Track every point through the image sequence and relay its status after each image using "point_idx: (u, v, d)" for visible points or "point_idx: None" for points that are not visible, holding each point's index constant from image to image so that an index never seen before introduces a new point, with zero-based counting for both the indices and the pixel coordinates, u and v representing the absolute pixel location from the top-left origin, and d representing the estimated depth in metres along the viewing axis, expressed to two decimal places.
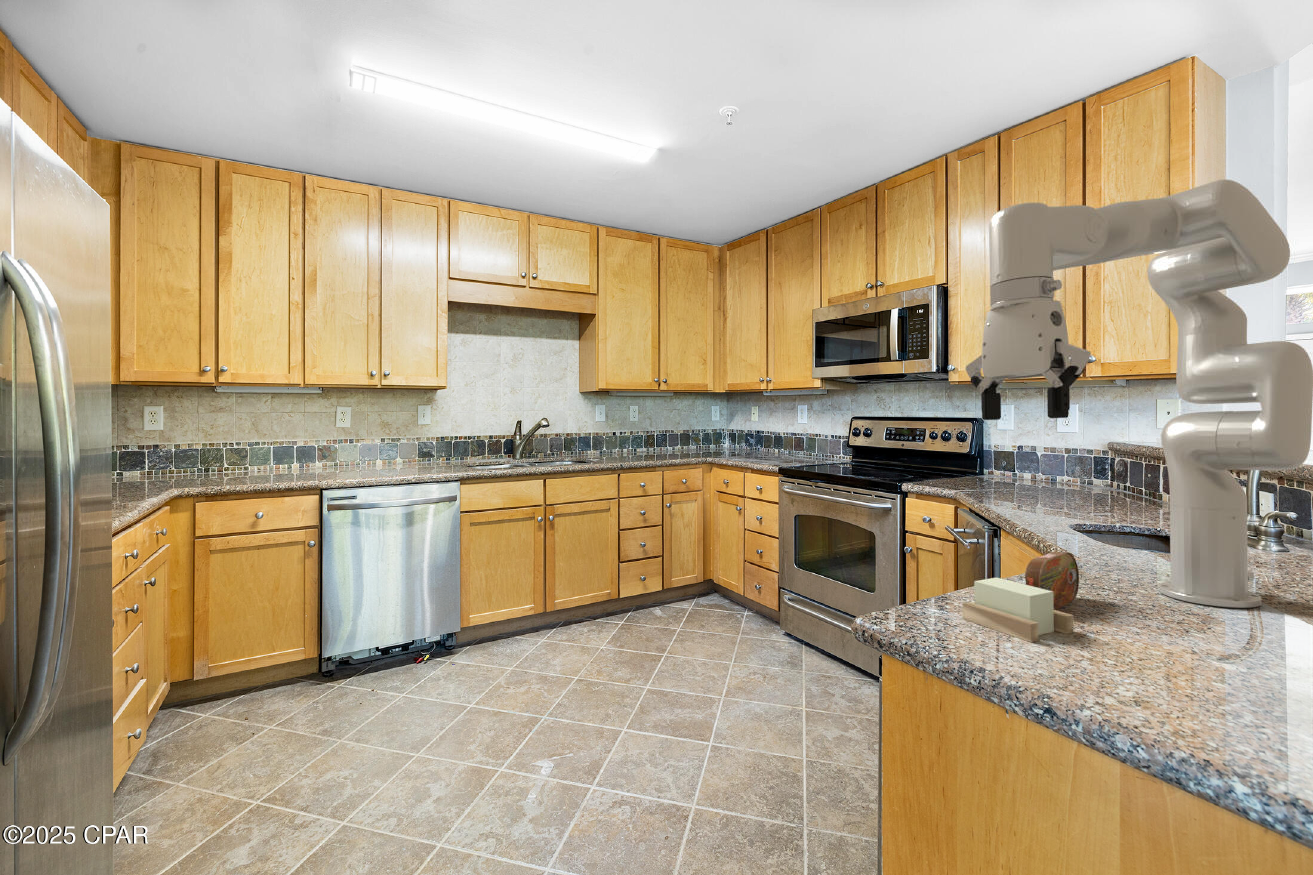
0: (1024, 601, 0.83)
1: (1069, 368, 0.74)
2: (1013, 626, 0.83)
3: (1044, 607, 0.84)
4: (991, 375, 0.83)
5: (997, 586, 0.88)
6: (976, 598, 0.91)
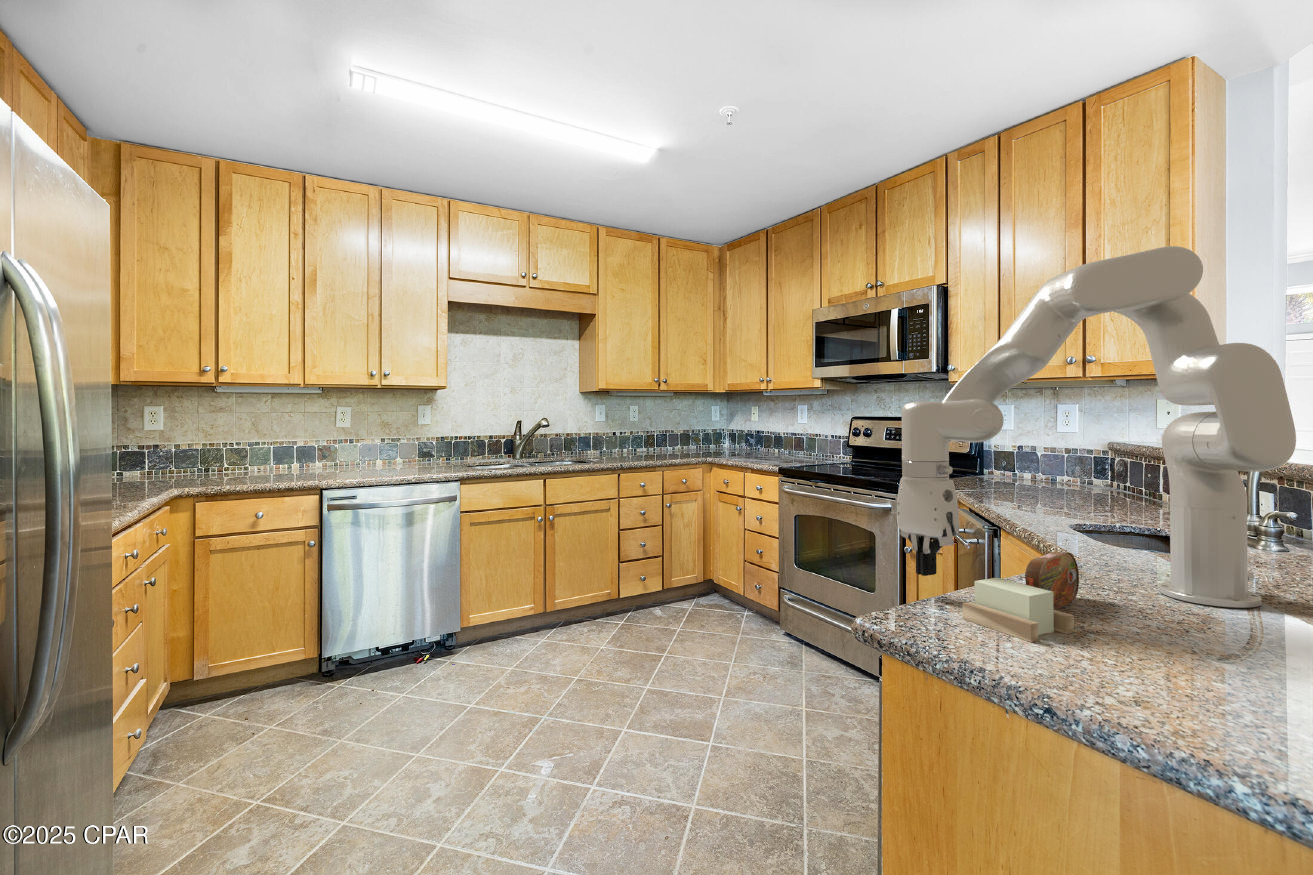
0: (1023, 601, 0.83)
1: (934, 541, 1.00)
2: (1013, 626, 0.83)
3: (1044, 608, 0.84)
4: (903, 529, 1.05)
5: (997, 586, 0.88)
6: (976, 598, 0.91)
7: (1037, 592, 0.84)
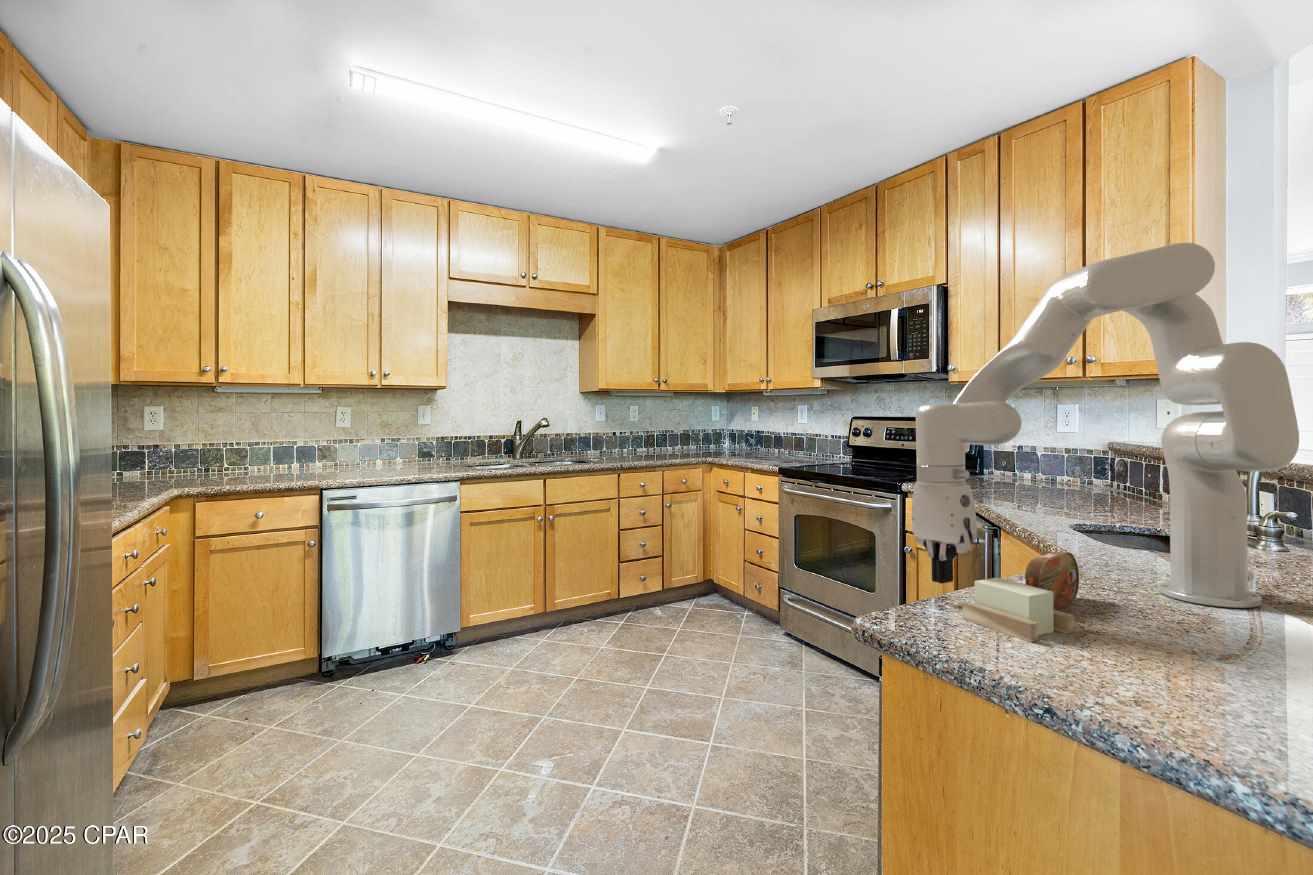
0: (1023, 601, 0.83)
1: (950, 548, 0.97)
2: (1013, 626, 0.83)
3: (1044, 608, 0.84)
4: (918, 535, 1.02)
5: (997, 586, 0.88)
6: (976, 598, 0.91)
7: (1037, 592, 0.84)
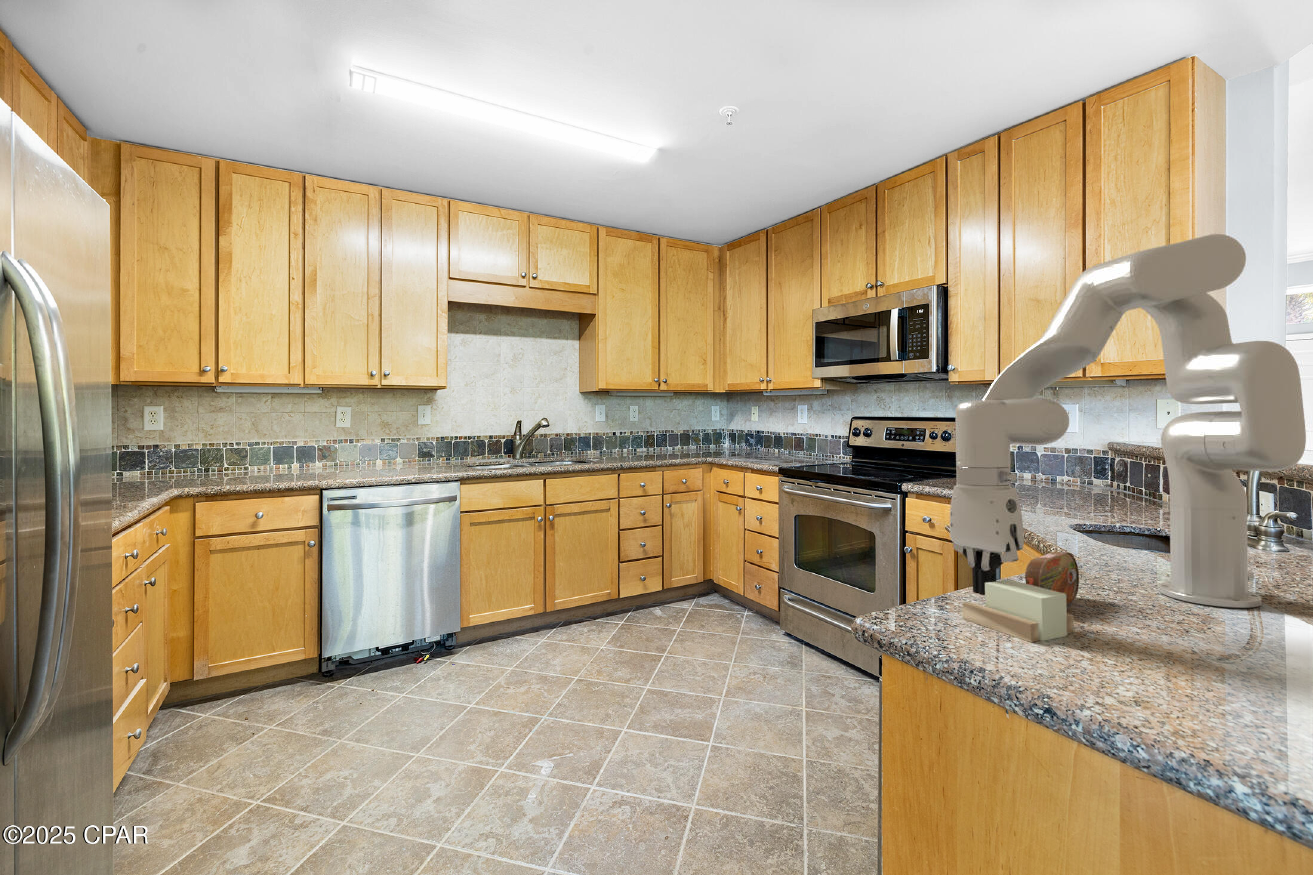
0: (1035, 604, 0.82)
1: (994, 557, 0.89)
2: (1013, 626, 0.83)
3: (1057, 610, 0.82)
4: (957, 542, 0.94)
5: (1008, 588, 0.86)
6: (987, 600, 0.89)
7: (1050, 594, 0.82)
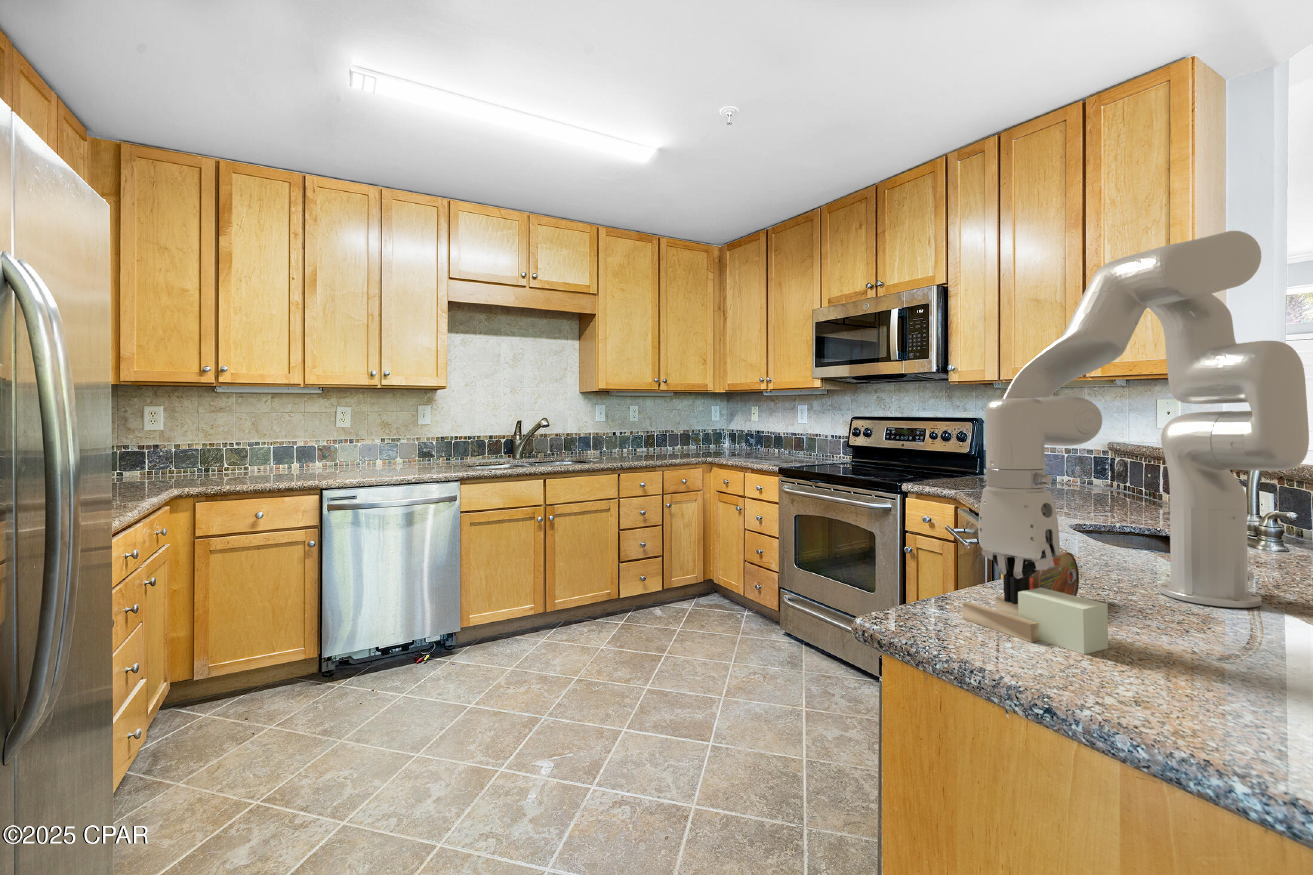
0: (1076, 615, 0.77)
1: (1028, 564, 0.84)
2: (1013, 626, 0.83)
3: (1098, 621, 0.77)
4: (987, 548, 0.89)
5: (1044, 597, 0.81)
6: (1020, 610, 0.84)
7: (1090, 604, 0.77)
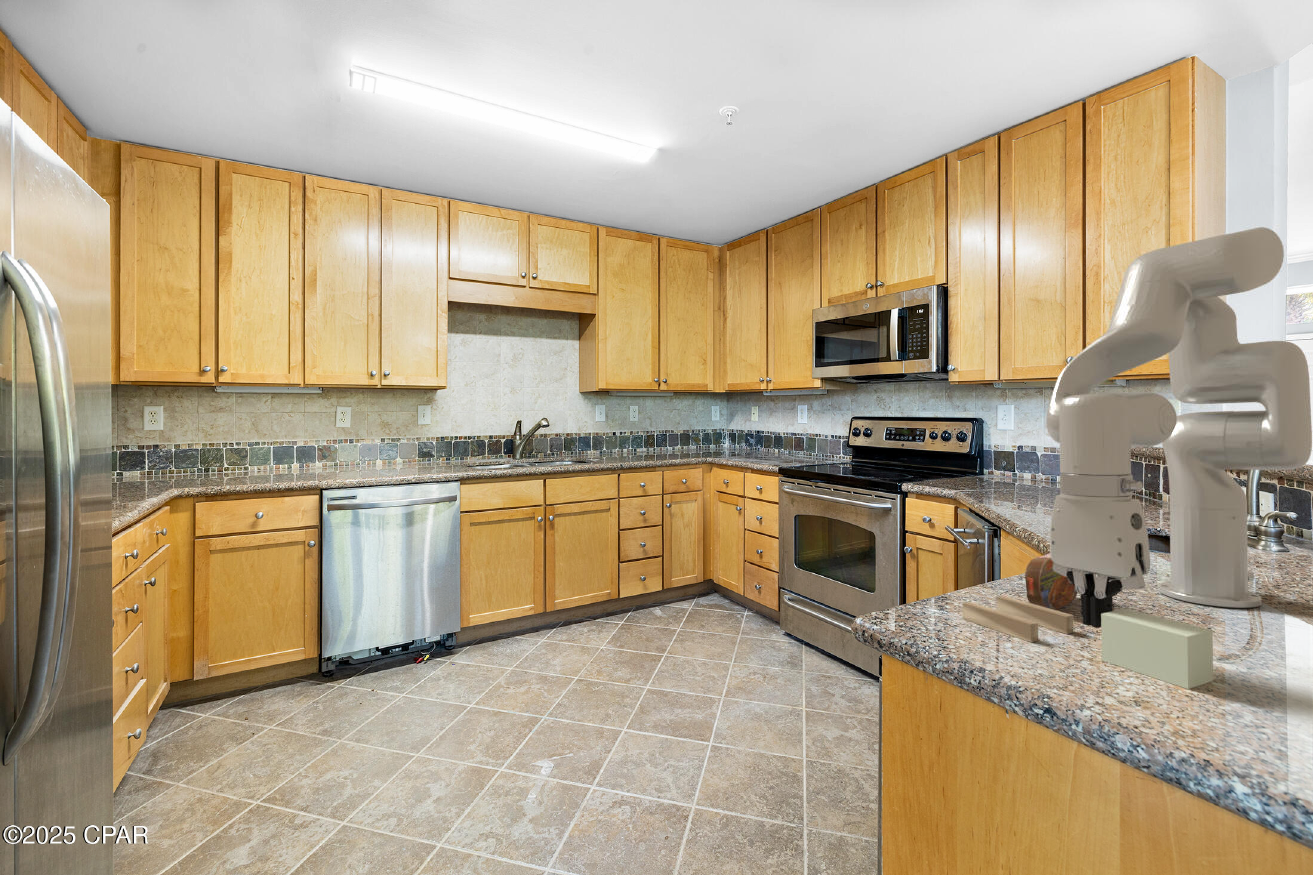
0: (1178, 643, 0.66)
1: (1113, 583, 0.74)
2: (1013, 626, 0.83)
3: (1203, 650, 0.67)
4: (1061, 564, 0.79)
5: (1135, 621, 0.71)
6: (1104, 635, 0.73)
7: (1193, 631, 0.67)
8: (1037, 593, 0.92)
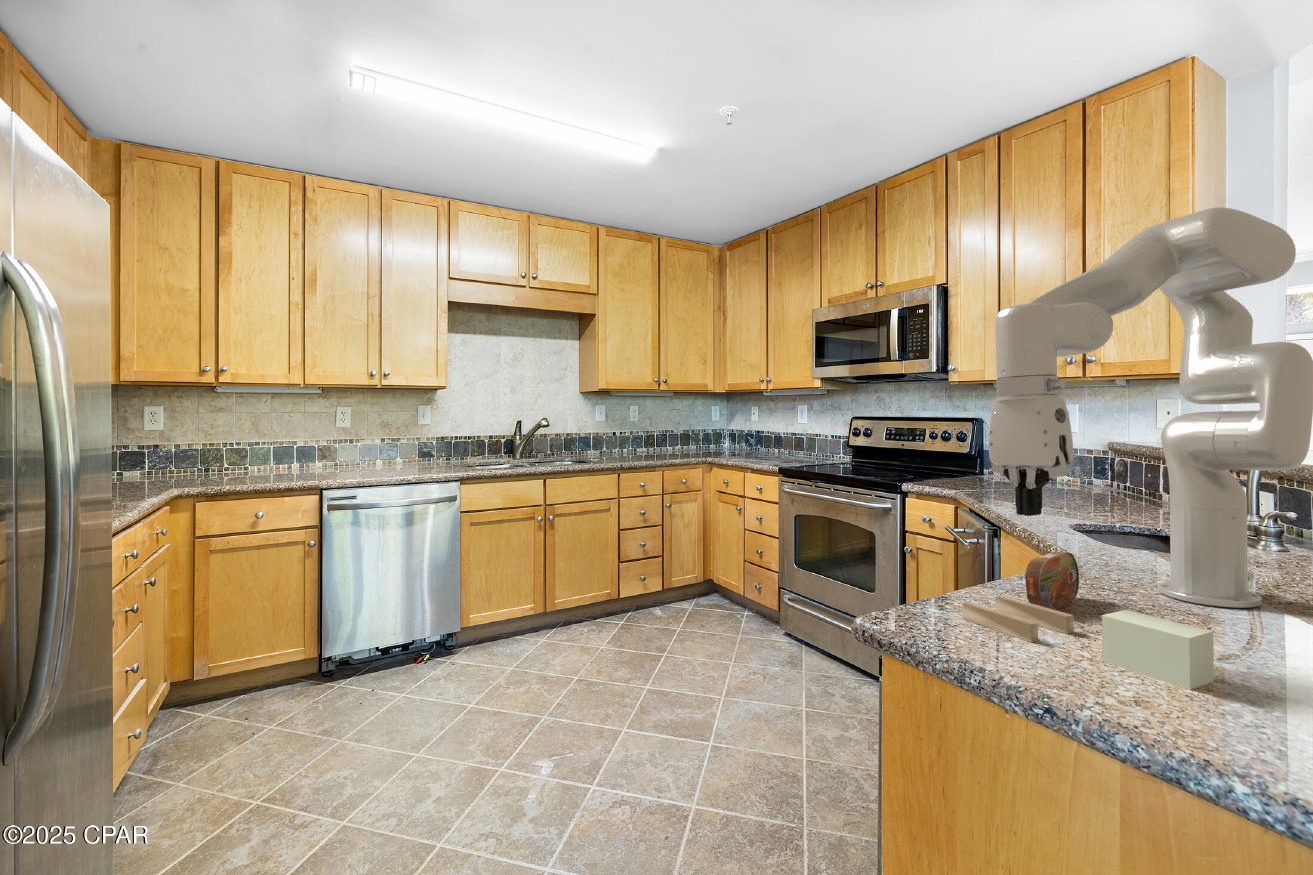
0: (1180, 645, 0.66)
1: (1041, 473, 0.82)
2: (1013, 626, 0.83)
3: (1204, 652, 0.67)
4: (998, 462, 0.87)
5: (1136, 623, 0.70)
6: (1105, 636, 0.73)
7: (1194, 632, 0.67)
8: (1037, 593, 0.92)
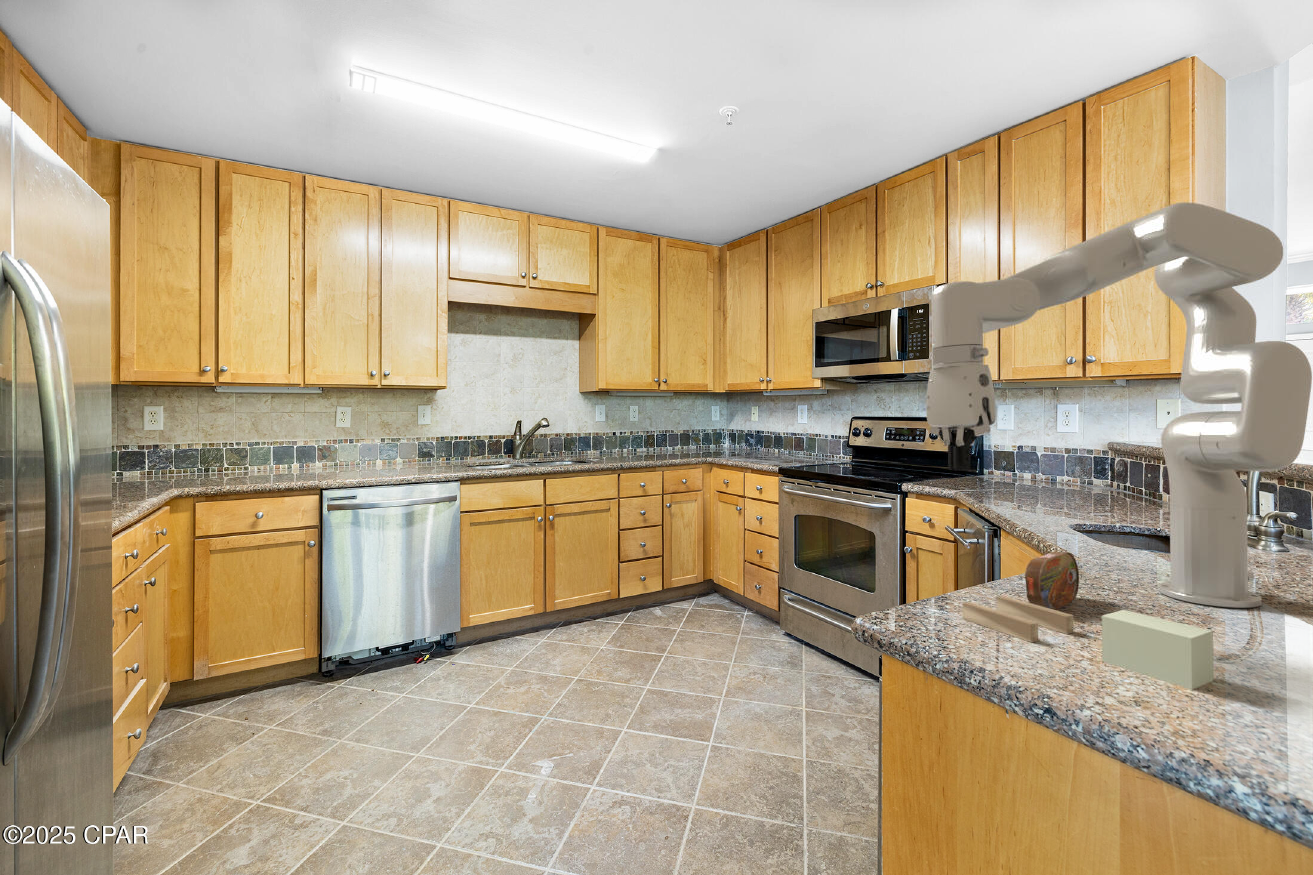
0: (1181, 645, 0.66)
1: (968, 431, 0.93)
2: (1013, 626, 0.83)
3: (1205, 651, 0.67)
4: (933, 424, 0.98)
5: (1137, 623, 0.70)
6: (1105, 637, 0.73)
7: (1195, 632, 0.67)
8: (1037, 593, 0.92)
